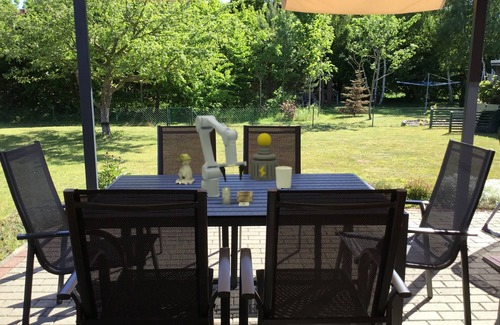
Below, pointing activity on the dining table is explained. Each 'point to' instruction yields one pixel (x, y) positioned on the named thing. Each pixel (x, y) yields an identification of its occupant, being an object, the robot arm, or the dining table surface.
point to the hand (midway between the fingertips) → (233, 181)
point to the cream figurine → (185, 170)
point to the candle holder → (283, 177)
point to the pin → (226, 195)
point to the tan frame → (244, 196)
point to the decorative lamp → (264, 161)
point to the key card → (243, 203)
